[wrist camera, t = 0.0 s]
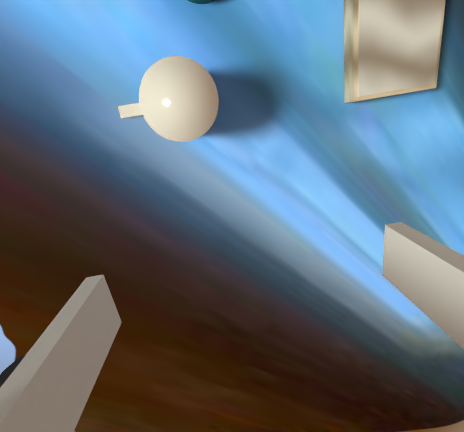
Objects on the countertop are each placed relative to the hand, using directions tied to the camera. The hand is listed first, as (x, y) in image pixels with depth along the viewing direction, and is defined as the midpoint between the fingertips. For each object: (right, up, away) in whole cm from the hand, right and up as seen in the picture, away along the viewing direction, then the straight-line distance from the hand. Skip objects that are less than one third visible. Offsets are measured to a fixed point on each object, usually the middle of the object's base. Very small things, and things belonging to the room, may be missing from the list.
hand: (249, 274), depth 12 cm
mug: (-8, +17, +23) cm, 30 cm away
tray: (+19, +30, +21) cm, 41 cm away
